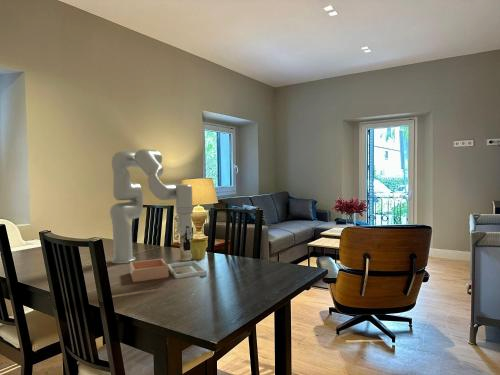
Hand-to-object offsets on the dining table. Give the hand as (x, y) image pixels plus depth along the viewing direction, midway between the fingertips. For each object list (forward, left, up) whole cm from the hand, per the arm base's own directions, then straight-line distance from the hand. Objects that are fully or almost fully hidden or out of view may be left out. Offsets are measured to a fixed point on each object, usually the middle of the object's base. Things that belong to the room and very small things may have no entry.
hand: (185, 248), depth 163 cm
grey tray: (0, 0, -11) cm, 11 cm away
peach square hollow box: (-1, -17, -11) cm, 20 cm away
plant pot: (-24, +12, -12) cm, 29 cm away
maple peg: (0, 0, -5) cm, 5 cm away
